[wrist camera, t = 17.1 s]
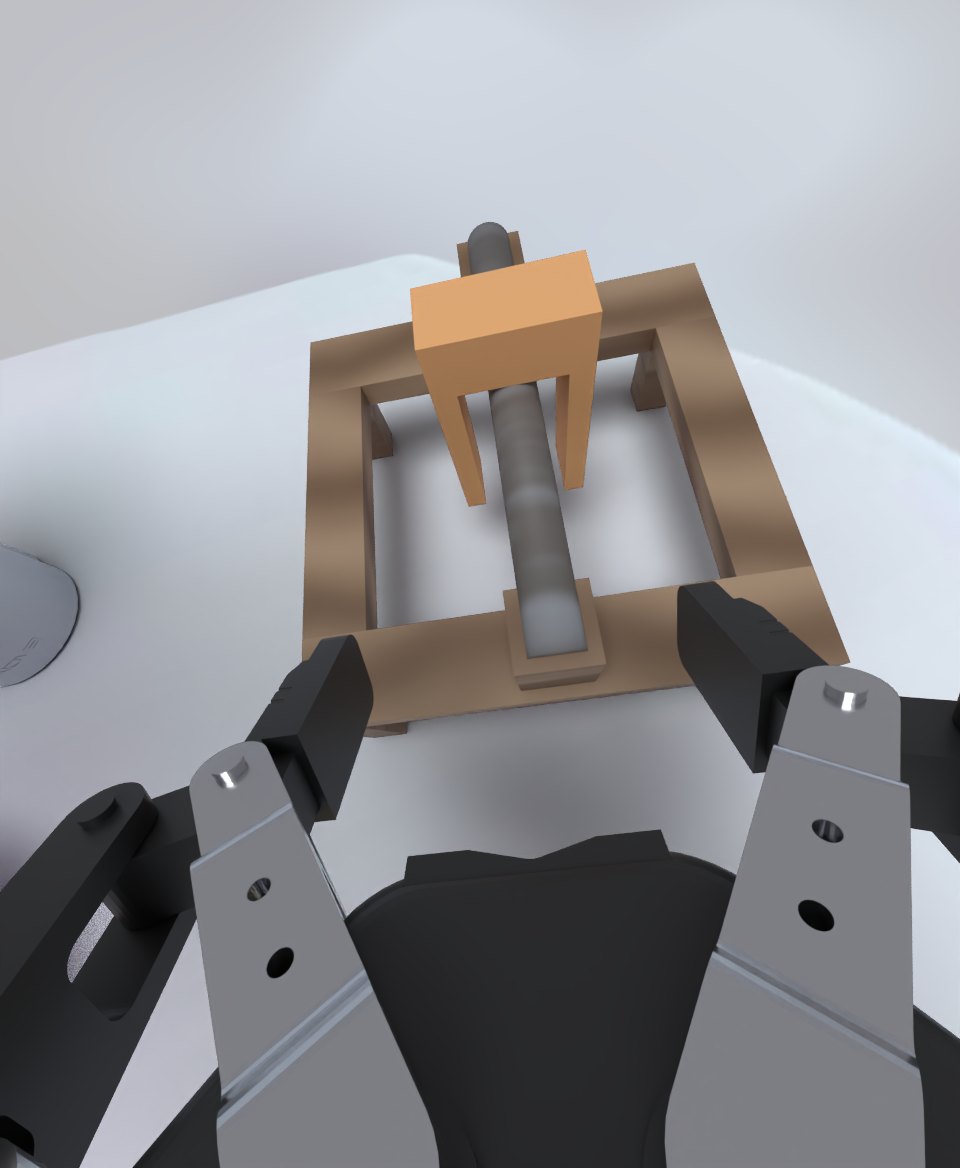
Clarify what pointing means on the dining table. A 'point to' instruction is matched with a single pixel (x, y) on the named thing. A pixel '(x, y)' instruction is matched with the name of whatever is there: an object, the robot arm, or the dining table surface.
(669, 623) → the wooden slider frame
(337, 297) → the dining table surface
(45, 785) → the dining table surface
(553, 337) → the orange two-legged bench
